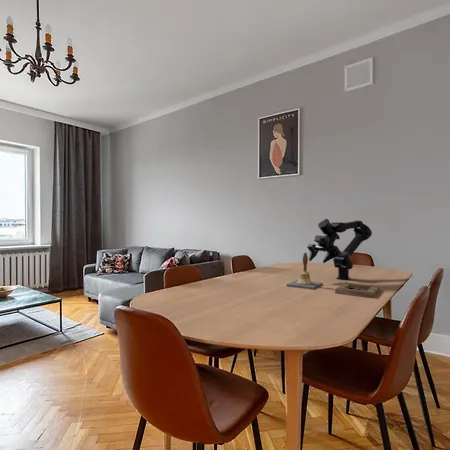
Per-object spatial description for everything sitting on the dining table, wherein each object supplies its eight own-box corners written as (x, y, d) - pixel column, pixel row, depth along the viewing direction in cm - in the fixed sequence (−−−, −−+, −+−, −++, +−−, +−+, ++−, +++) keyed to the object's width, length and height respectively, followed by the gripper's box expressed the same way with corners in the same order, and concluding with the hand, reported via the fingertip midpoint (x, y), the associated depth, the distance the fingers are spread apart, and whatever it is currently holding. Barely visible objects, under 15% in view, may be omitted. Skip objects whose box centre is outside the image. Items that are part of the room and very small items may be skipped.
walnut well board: (345, 286, 159) (345, 282, 159) (379, 290, 150) (379, 286, 150) (335, 293, 145) (335, 288, 145) (372, 297, 135) (372, 293, 135)
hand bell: (305, 281, 168) (305, 251, 168) (316, 284, 160) (316, 253, 160) (293, 282, 164) (293, 252, 164) (303, 285, 157) (303, 254, 157)
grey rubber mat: (297, 281, 172) (296, 279, 172) (322, 284, 164) (322, 282, 164) (286, 286, 161) (286, 284, 161) (313, 289, 153) (313, 287, 153)
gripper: (309, 229, 177) (295, 250, 171) (337, 230, 162) (323, 253, 156) (318, 242, 182) (305, 263, 176) (346, 244, 167) (333, 267, 160)
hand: (316, 261), depth 167 cm, fingers open, 9 cm apart
